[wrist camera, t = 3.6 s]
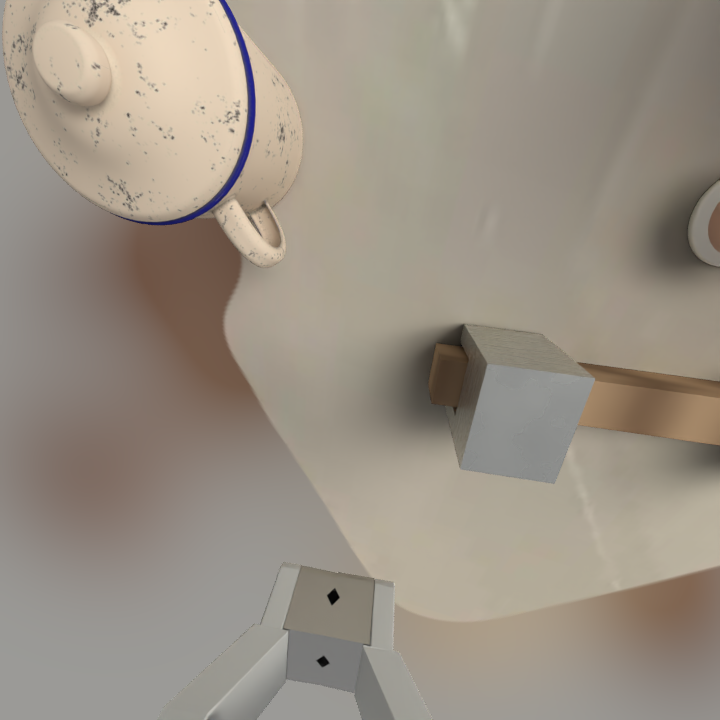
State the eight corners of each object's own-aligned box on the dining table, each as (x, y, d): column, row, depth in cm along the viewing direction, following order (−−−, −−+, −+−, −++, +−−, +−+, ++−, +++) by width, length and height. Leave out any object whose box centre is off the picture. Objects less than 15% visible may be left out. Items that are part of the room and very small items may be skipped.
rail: (423, 407, 26) (431, 480, 19) (441, 314, 24) (460, 357, 16) (771, 458, 25) (921, 557, 18) (832, 365, 22) (1036, 437, 15)
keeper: (445, 407, 26) (459, 469, 20) (464, 324, 24) (487, 363, 17) (516, 417, 26) (554, 483, 19) (542, 334, 23) (595, 378, 17)
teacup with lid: (125, 106, 21) (-160, -6, 10) (248, -3, 19) (43, -296, 8) (245, 288, 24) (123, 346, 14) (362, 216, 22) (327, 216, 11)
